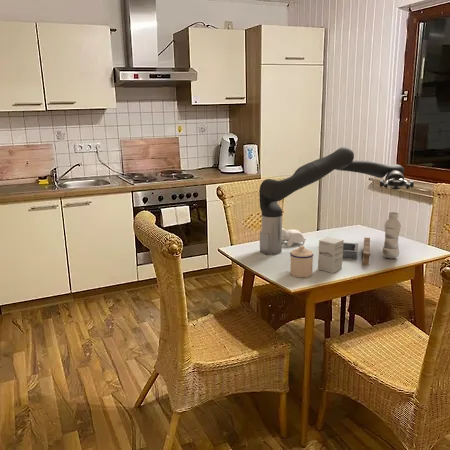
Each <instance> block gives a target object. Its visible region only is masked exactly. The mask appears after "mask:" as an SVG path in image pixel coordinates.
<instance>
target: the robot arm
mask: <svg viewBox="0 0 450 450" xmlns="http://www.w3.org/2000/svg"><path fill="white" fill-rule="evenodd" d="M354 153H355V152H354V151H353V150H352V148H349V147H346V146H344V147H343V146H342V147H339V148H337V149H336V150H334V152H331V153H330V154H328V155H327V156H324V157H320V158H318V159H316V160H313V161H311V162H308V163H306V164H304V165H301V166H299V167H298V168H297V169H296V170H295V171H294V172H293V174H292V175H290V176H288V177H286V178H284V179H281V180H276V179H272V178H267V179H264V180H263V181H262V182H261V184H260V186H259V189H258V190H259V192H258V193H259V194H258V195H259V208H260V211H261V230H259V252H261V253H263V254H265V255H278V254H280V253H282V251H283V250H282V248H283V247H282V246H283V245H282V228H283V209H282V208H281V206H280V205H279V204H278V202H280V201H282V200H285V198H287V197H288V196H289V197H290V195H292V194H293V193H295V192H297V191H298V190H301V189H303V188H305V187H306V186H309V185H311V184H314V183H316V182H318V181H319V180H322V179H323V178H325V177H326V176H328V174H330V173H331V172H333V171H335V170H336V171H341V172H343V171H344V172H351V173H359V174H364V175H368V176H372V177H374V178H377V179H380V180H379V187H380V188H382V187H383V188H385V189H388V188H390V189H391V190H394V191H397V190H400V189H405V188H406V190H409V188H411V189H413V188H414V186H415V185H414V183H415V182H414V180H413V179H409V180H408V181H407V180H406V179H405V177H404V173H405V168H404V167H403V166H402V165H400V164H397V163H396V164H394V163H393V164H391V163H389V164H388V163H387V164H385V163H381V162H377V161H373V160H355V154H354ZM384 177H385V178H384ZM383 178H384V179H383Z"/></svg>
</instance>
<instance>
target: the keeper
mask: <svg viewBox="0 0 450 450" xmlns="http://www.w3.org/2000/svg"><path fill="white" fill-rule="evenodd" d="M358 249H359V243H356V242H355V243H353V242H343V257H342V259H345V260H358V259H357V258H358Z"/></svg>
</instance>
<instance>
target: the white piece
mask: <svg viewBox="0 0 450 450" xmlns="http://www.w3.org/2000/svg"><path fill="white" fill-rule="evenodd" d="M306 241H307V239H306V238H305V237H304V236H303V234H302V232H300V231H299V230H298V229H285V228H283V227H282V243H285V242H286V243H287V244H286V246H287V248H290V247H292V245H293V244H301V243H302V244H303V245H305V243H306Z"/></svg>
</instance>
